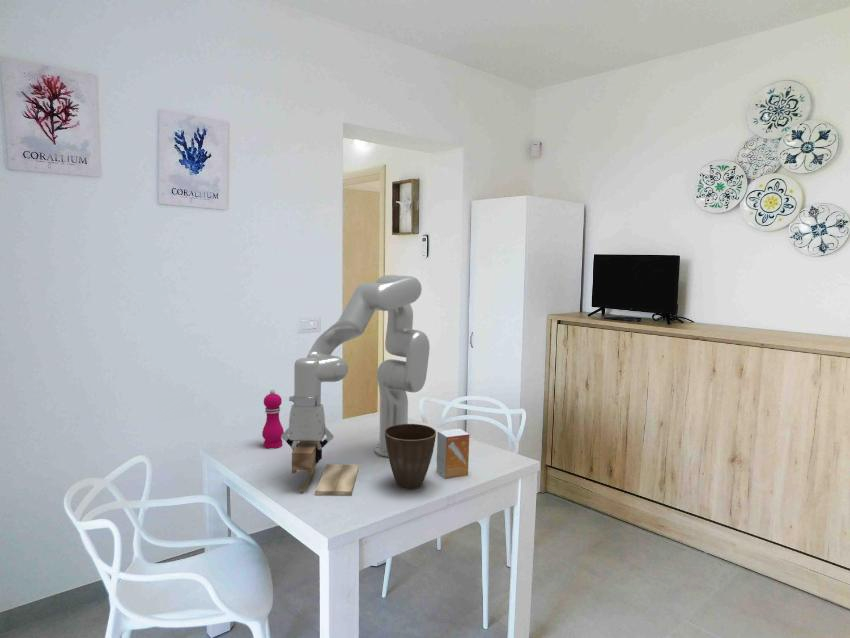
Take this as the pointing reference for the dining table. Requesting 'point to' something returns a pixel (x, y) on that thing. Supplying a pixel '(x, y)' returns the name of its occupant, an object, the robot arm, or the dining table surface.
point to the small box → (452, 453)
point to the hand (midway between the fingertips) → (307, 460)
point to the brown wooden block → (304, 457)
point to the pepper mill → (272, 421)
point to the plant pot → (410, 453)
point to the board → (334, 480)
